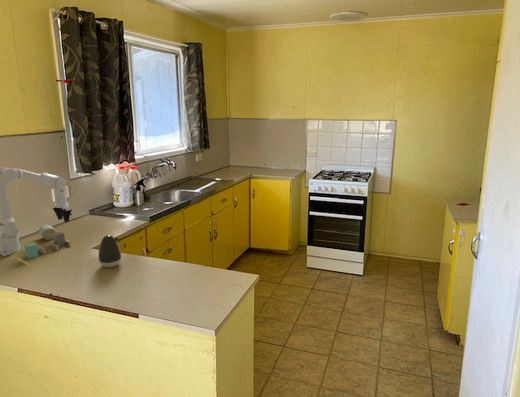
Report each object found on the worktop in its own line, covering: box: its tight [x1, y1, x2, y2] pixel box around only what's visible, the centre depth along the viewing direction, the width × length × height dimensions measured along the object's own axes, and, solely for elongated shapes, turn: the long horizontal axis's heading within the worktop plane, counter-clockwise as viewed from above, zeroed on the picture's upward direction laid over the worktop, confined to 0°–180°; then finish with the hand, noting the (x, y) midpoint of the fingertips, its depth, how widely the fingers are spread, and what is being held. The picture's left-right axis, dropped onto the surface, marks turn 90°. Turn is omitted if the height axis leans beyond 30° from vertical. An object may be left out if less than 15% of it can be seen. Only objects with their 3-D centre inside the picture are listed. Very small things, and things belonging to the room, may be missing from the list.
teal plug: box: [24, 242, 39, 259], centre depth 194 cm, size 4×4×7 cm
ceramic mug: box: [38, 224, 59, 241], centre depth 222 cm, size 11×8×8 cm
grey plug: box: [53, 231, 66, 248], centre depth 207 cm, size 4×4×7 cm
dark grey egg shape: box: [98, 234, 122, 268], centre depth 184 cm, size 10×10×15 cm
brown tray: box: [37, 238, 72, 255], centre depth 206 cm, size 14×9×3 cm, turn 142°
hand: (63, 220), depth 222 cm, fingers open, 7 cm apart
